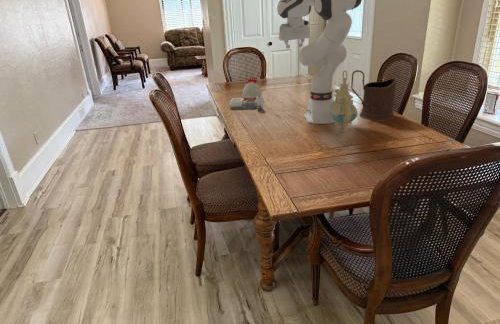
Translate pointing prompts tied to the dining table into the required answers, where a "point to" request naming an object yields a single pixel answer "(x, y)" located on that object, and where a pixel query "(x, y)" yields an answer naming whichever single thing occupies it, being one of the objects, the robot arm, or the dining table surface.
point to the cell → (259, 102)
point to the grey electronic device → (242, 104)
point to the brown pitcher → (377, 99)
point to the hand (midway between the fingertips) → (294, 47)
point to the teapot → (343, 106)
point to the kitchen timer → (251, 90)
